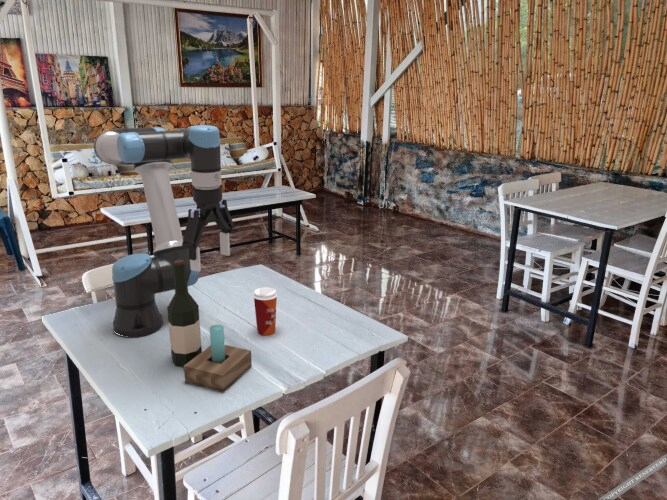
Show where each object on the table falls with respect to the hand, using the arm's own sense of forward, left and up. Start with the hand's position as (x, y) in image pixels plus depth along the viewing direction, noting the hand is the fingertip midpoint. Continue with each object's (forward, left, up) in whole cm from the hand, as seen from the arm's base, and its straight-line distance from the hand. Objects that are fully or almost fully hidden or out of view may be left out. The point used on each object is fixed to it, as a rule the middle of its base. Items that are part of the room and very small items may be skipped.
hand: (211, 262), depth 145 cm
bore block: (+7, -9, -29) cm, 31 cm away
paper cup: (+6, +18, -29) cm, 35 cm away
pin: (+7, -9, -28) cm, 30 cm away
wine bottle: (-6, -6, -29) cm, 30 cm away
